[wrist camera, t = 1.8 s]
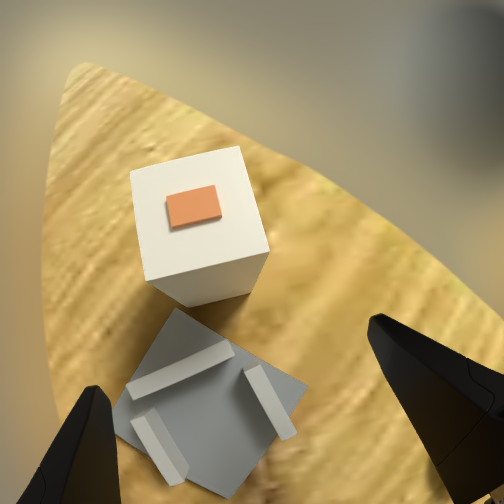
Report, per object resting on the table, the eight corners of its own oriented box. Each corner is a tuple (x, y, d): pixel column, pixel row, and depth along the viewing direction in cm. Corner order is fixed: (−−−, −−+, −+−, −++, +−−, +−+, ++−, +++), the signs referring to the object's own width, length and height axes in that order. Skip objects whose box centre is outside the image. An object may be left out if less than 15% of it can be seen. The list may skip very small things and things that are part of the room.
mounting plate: (232, 493, 18) (233, 522, 14) (109, 420, 19) (85, 436, 14) (308, 383, 20) (325, 394, 16) (179, 307, 21) (166, 300, 17)
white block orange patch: (251, 292, 22) (271, 249, 11) (188, 308, 21) (143, 280, 10) (234, 230, 23) (238, 138, 12) (174, 245, 22) (127, 165, 11)
